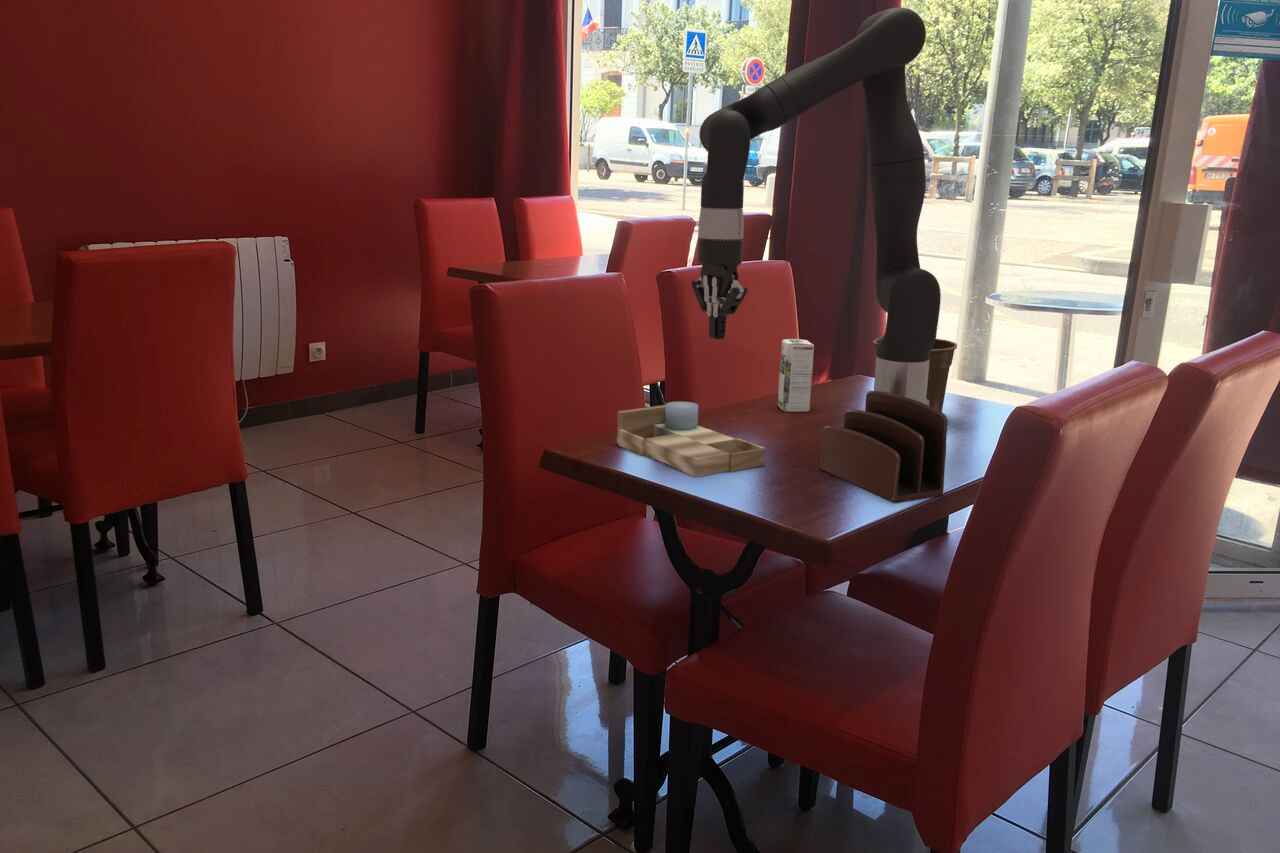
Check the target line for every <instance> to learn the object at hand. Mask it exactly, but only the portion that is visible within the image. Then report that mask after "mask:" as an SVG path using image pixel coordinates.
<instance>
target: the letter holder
mask: <svg viewBox="0 0 1280 853" xmlns="http://www.w3.org/2000/svg"><path fill="white" fill-rule="evenodd" d="M947 433H948V417H947V415H946V414H945V413H944V412H943V411H942V412H940V411H938V410H936V409H934V408H933V407H930V406H928V405H926V404H924V403H921V402H919V401H916V400H913V399H910V398H907V397H904V396H900V395H896V394H892V393H887V392H881V391H874V390H869V391H867V392H866V395H865V409H864V410H859V409H854V408H853V409H851V408H849V409H847V410H846V411H844V415H843V427H841V426H836V425H825V426H824V427H823V429H822V431H821V441H820V442H821V443H820V453H819V462H818V463H819V464H818V469H819V470H821V471H824V472H825V473H828V474H829V475H832V476H834V477H836V478H837V479H838V478H839V479H841V480H843V481H845V482H847V483H849V484H851V485H854V486H856V487H858V488H861V489H863V490H865V491H868V492H869V493H872V494H874V495H876V494H877V495H876V496H878V495H879V497H880V496H881V498H883V499H885V500H888V501H889V500H890V502H892V503H893V504H895V503H896V504H897V503H902V501H903V502H908V501H907V500H910V501H914V500H915V499H916V500H921V498H923V499H928V498H927V497H929V498H933V497H932V496H935V497H939V496H940V497H941V496H943V495H944V487H945V471H946V469H945V468H946V456H947V435H948V434H947Z"/></svg>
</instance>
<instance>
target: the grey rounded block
mask: <svg viewBox="0 0 1280 853" xmlns="http://www.w3.org/2000/svg"><path fill="white" fill-rule="evenodd" d="M665 405H666V408H665V427H666V428H668V429H672V430H693V429H696V428H697V427H698V426H699V425H698V422H699V404H697V403H696V402H691V401H671V402H666V403H665Z"/></svg>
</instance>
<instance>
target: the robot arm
mask: <svg viewBox="0 0 1280 853" xmlns="http://www.w3.org/2000/svg"><path fill="white" fill-rule="evenodd" d="M926 29H927V28H926V25H925V22H924V21H923V18H922V17H921V16H920V14H918V13H917V12H915V11H914V10H912V9H910V8H907V7H895V6H894V7H891V8H887V9H885V10H881V11H879V12H875V13H873V14H872V15H870V16H868V17H867V18H866V19H865V20H864V21H863V22H862V24H861V25H860V26H859V28H858V31H857V34H856V36H855V37H854V38H852V39H851V40H849V41H848V42H846V43H845V44H843V45H842V46H839V47H838V48H836V49H834V50H833V51H831V52H828V53H826V54H825V55H822V56H820V57H818V58H816V59H814V60H812V61H809V62H807V63H805V64H803V65H800V66H799V67H796V68H794V69H792V70H791V71H788V72H786V73H784V74H783V75H780V76H779V77H777V78H776V79H774V80H771V81H770V82H768V83H766V84H764V85H763V86H761V87H760V88H758V89H757V90H755V91H754V92H752V93H751V94H749V95H748V96H746V97H744V98H741V99H739V100H737V101H735V102H733V103H730V104H728V105H726V106H724V107H722V108H720V109H718V110H716V111H714V112H713V113H711V114H709V115H708V116H707V117H706V118H705V119H704V120H703V121H702V123H701V125H700V129H699V135H698V136H699V141H700V144H701V145H702V147H703V149H704V150H706V152H707V163H706V164H707V165H706V166H707V167H706V171H705V173H704V175H703V177H702V180H701V187H700V210H699V211H700V212H699V217H698V226H697V227H698V228H697V230H698V231H697V232H698V233H697V263H698V264H700V265H702V266H701V270H700V271H699V272H700V273H699V275H700V276H699V278H698V279H696V280H695V279H693V280H692V281H691V288H692V290H693V292H694V295H695V297H696V298H695V299H696V300H697V303H698V305H699V308H700V310H701V311H702V312H705V313H706V314H707V316H708V335H709V336H708V337H709V338H710V339H712V340H723V339H724V338H725V337H726V327H727V326H726V325H727V317H728V316H731V315H735V314H736V312H737V311H738V308H739V307H740V305H741V303H742V302H743V301H744V299H745V296H746V295H747V293H748V288H747V286H742V285H741V284H740V282H739V273H738V266H740V265H741V264H742V263H743V251H744V250H743V249H744V248H743V247H744V228H745V227H744V225H745V222H744V209H743V208H744V191H745V190H744V189H745V188H744V187H745V186H744V183H745V182H744V180H745V175H746V170H747V166H748V159H749V156H750V150H751V140H753V139H755V138H756V137H758V136H761V135H762V134H763V133H767V132H768V133H769V132H770V131H773V130H777V129H778V128H780V127H783V126H784V125H786V124H788V123H790V122H791V121H793V120H795V119H796V118H799V117H801V115H803V114H805V113H807V112H809V111H810V110H812V109H814V108H815V107H816V106H820V105H821V104H822V103H824V102H825V101H827V100H829V99H830V98H832V97H833V96H836V95H837V94H838V93H841V92H843V91H844V90H846V89H847V88H849V87H851V86H853V85H855V84H857V83H859V82H861V83H862V90H863V97H864V103H865V104H864V105H865V124H866V125H865V126H866V136H867V137H866V138H867V153H868V158H867V159H868V174H869V182H870V183H869V184H870V192H871V200H872V201H871V202H872V204H871V205H872V211H873V212H872V213H873V222H874V224H873V225H874V231H875V238H876V239H875V241H876V244H875V245H876V259H875V260H876V261H875V296H876V297H875V298H876V300H877V303H878V305H879V307H880V308H881V309H882V310H883V311H884V312H885V313H887V314H886V315H887V317H886V324H885V329H884V330H885V331H884V333H883V337H881V338H882V339H880V340H879V341H878V344H877V354H876V353H875V369H874V371H875V372H874V381H873V383H874V385H873V391H881V392H887V393H892V394H896V395H900V396H904V397H907V398H910V399H913V400H916V401H919V402H921V403H924V404H926V405H928V406H929V400H928V399H926V394H927V383H928V371H929V359H930V352H931V349H932V347H933V345H934V343H935V339H937V331H938V326H939V318H940V311H941V299H942V295H941V293H942V292H941V287H940V283H939V281H938V279H937V278H936V277H935V275H934V274H932V273H931V272H930V271H928V270H926V269H923V268H921V265H920V258H919V250H918V249H919V248H918V229H919V228H918V227H919V222H920V219H921V218H920V217H921V212H922V209H923V205H924V201H925V195H926V188H927V187H926V186H927V181H926V180H927V178H926V161H925V149H924V144H923V141H922V138H921V134H920V131H919V129H918V126H917V123H916V121H915V118H914V116H913V113H912V110H911V108H910V105H909V101H908V96H907V87H906V86H907V85H906V83H907V82H906V65H908V64H910V63H911V62H912V61H914V60H915V59H916V58H917V57H918V55H919V54H920V53H921V52H922V50H923V48H924V45H925V42H926V37H927V30H926ZM876 355H877V356H876Z"/></svg>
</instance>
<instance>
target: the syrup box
mask: <svg viewBox="0 0 1280 853" xmlns="http://www.w3.org/2000/svg"><path fill="white" fill-rule="evenodd" d="M814 350H815V344H813V343H812V342H810V341H809V340H807V339H800V338H799V339H798V338H786V339H782V340H781V352H780V353H781V355H780V366H779V379H778V380H779V381H778V396H777V407H778V406H779V408H780V409H781V411H784V412H783V413H792V412H793V413H798V412H799V413H802V412H806V413H808V412H810V408H811V406H810V405H811V395H812V394H811V392H812V382H813V381H812V380H813V365H814V356H815V355H814V352H815V351H814Z"/></svg>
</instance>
